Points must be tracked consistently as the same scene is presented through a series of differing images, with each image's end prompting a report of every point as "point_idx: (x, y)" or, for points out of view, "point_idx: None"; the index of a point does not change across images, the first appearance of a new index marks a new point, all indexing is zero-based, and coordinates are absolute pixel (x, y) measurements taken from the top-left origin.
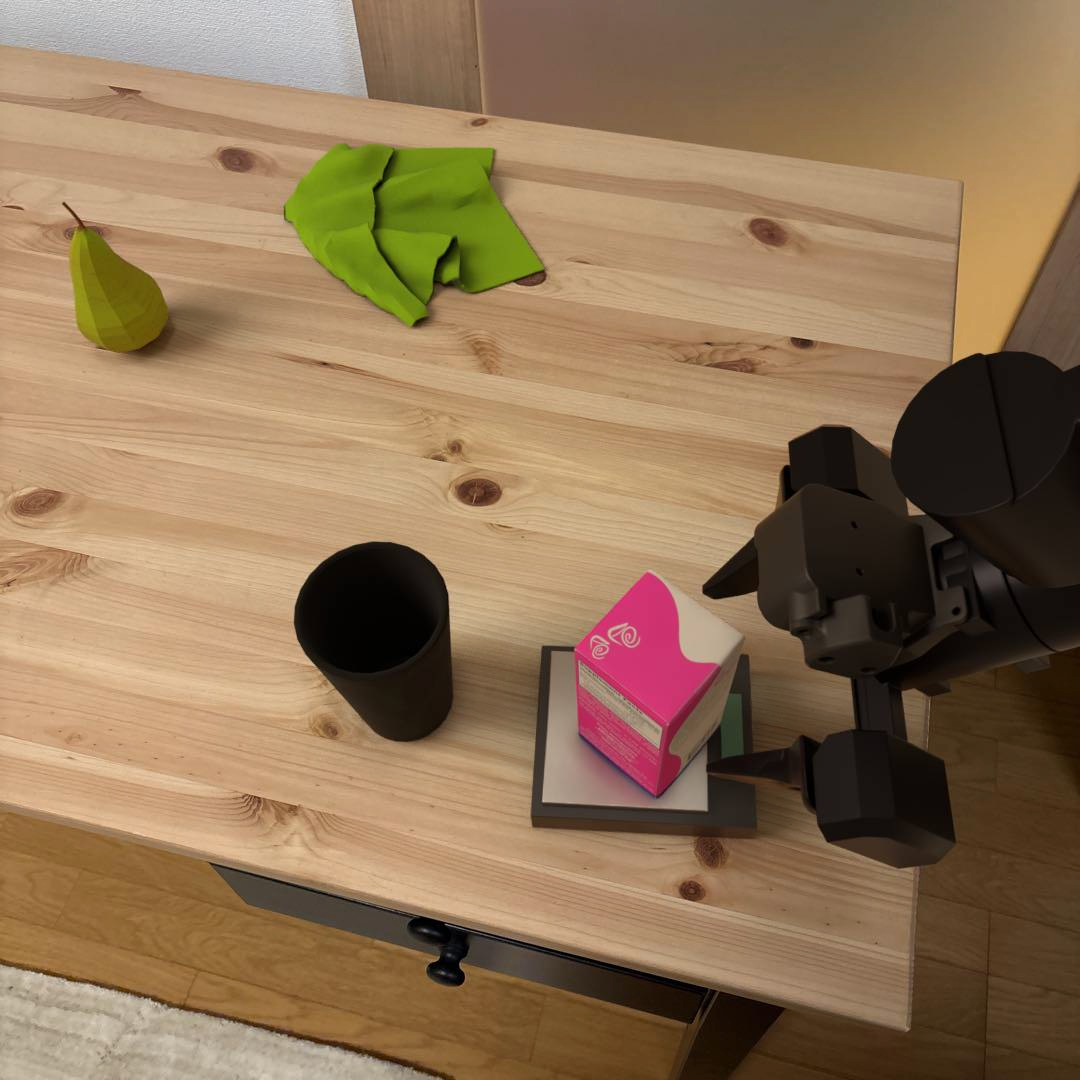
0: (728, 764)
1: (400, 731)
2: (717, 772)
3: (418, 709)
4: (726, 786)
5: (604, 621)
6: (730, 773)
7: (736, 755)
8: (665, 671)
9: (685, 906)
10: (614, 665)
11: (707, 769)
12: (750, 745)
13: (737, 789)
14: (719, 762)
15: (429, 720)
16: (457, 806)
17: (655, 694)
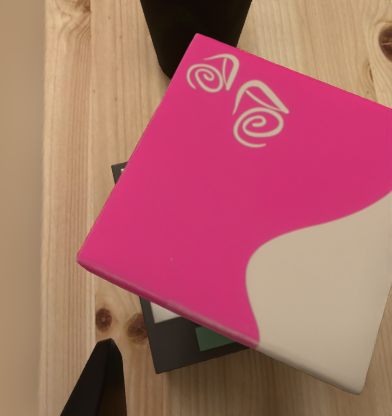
0: (85, 393)
1: (152, 41)
2: (84, 367)
3: (156, 23)
4: (188, 334)
5: (275, 67)
6: (69, 401)
7: (96, 411)
8: (200, 220)
9: (89, 317)
10: (182, 112)
11: (100, 343)
12: (236, 348)
13: (188, 346)
14: (100, 368)
15: (168, 59)
16: (120, 117)
17: (138, 213)
